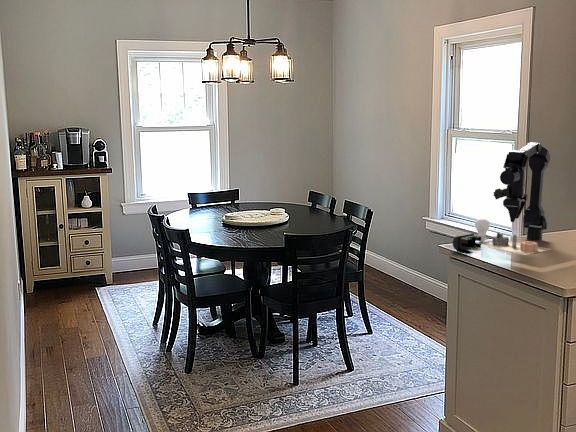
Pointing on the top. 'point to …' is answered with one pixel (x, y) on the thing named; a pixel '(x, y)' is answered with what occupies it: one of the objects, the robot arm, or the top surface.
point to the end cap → (466, 243)
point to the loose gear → (529, 246)
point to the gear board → (509, 245)
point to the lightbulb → (482, 227)
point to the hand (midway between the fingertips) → (514, 220)
